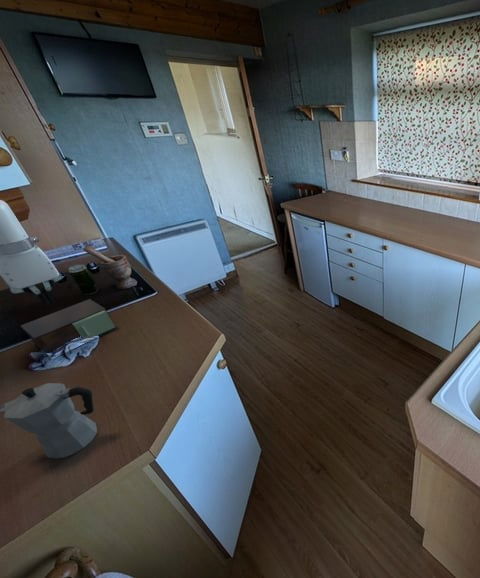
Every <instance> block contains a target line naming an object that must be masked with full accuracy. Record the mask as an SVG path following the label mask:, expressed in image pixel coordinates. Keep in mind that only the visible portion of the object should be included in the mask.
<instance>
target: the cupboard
mask: <svg viewBox="0 0 480 578" xmlns="http://www.w3.org/2000/svg"><path fill="white" fill-rule="evenodd" d="M103 310H105V311H106V312H107V314H108V315H109V317H110V319H111V320H112V322H113V324H114V325H115V328H112V329H110V330H108V331H106V332H104V333H102V334H100V335H98V336H99V337H100V338H101V337H103V336H106V335H108V334H110V333H112V332H115V331H117V330H118V329H120V328H119V326H117V325H116V324H115V322H114V321H113V319H112V317H111V315H110V314H109V313H108V311H107V309H106V308H105V307H104V306H102V305H100V304H99V303H97V302H96V301H94V300H92V299H91V298H88V299H87V300H83V301H81V302H78V303H76V304H73V305H71V306H68V307H66V308H63V309H60V310H57V311H55V312H52V313H50V314H47V315H44V316H42V317H39V318H37V319H34V320H31V321H29V322H25V323H23V324H21V325H20V328H22V330H23V331H24V333H25V334H26V335H27V336H28V337H29V338H30V340H31V341H32V342H33V343H34V344H35V346H36V347H38V348H39V349H40V350H41V351H42V350H43V351H44V352H46V353H50V352H53V351H54V350H56V349H57V348H59V347H61V346H63V345H64V344H65V343H67V342H70V341H71V340H73V339H75V338H78V337H80V335H79V334H78V332H77V331H76V329H75V328H74V326H73V325H72V323H75V322H77V321H80V320H82V319H84V318H87V317H89V316H91V315H94V314H96V313H99V312H101V311H103ZM43 351H42V352H43ZM44 352H43V353H44Z"/></svg>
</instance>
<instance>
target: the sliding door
mask: <svg viewBox="0 0 480 578" xmlns="http://www.w3.org/2000/svg"><path fill="white" fill-rule="evenodd" d="M106 311H107V310H106ZM106 311H105V310H103V311H101V312H99V313H96V314H94V315H91V316H89V317H87V318H84V319H82V320H80V321H77V322H75V323H72V325H73V326H74V328H75V329H76V331H77V332H78V334H79V335H80V336H81V338H82V339H85V338H90V337H93V336H97V335H100V334H102V333H104V332H106V331H108V330H110V329H112V328H115V326H116V324H115V323H114V324H115V325H114V324H113V322H114V321H113V319H112V318H111V319H112V320H111V319H110V317H111V316H110V314H109V313H108V314H109V315H108V314H107V312H108V311H107V312H106ZM109 316H110V317H109ZM112 321H113V322H112Z"/></svg>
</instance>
